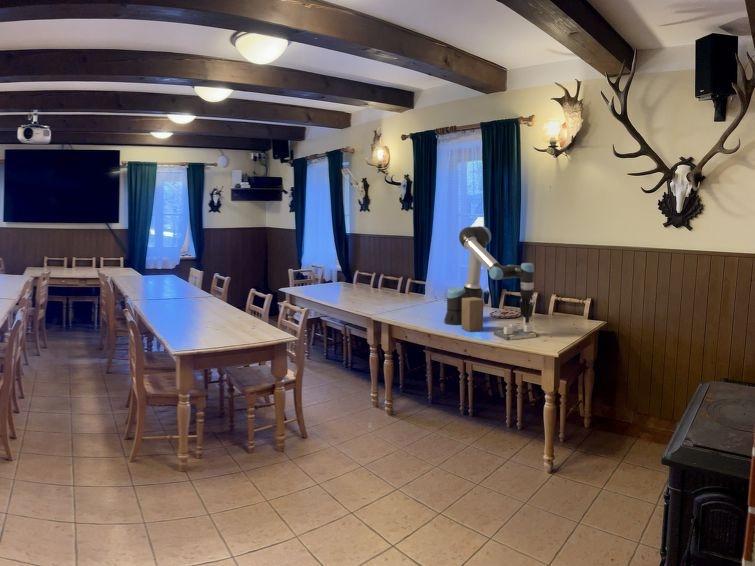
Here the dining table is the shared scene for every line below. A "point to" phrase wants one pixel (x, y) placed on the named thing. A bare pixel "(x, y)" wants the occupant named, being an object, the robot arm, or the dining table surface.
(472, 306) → the wooden block
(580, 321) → the dining table surface
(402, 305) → the dining table surface
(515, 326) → the slider
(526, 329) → the slider
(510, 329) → the slider
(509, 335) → the console
